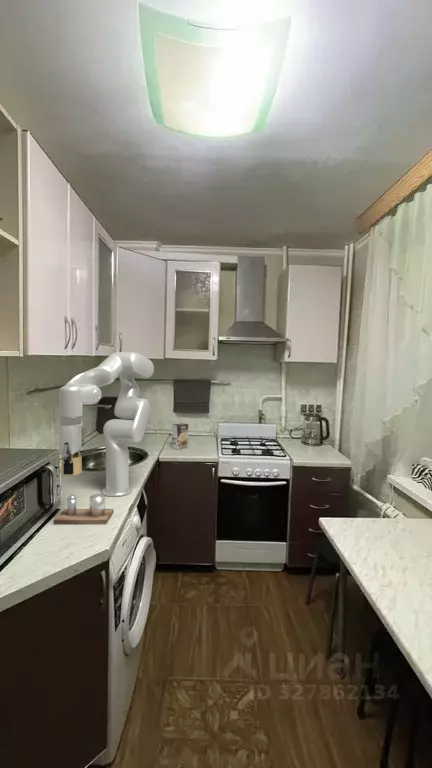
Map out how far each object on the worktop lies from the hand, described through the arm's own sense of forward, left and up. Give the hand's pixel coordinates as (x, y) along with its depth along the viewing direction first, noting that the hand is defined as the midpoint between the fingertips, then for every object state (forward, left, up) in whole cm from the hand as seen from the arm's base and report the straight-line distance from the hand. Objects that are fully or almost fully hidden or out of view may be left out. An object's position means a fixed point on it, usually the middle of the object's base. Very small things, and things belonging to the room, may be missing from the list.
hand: (72, 470), depth 131 cm
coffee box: (-116, +30, -17) cm, 121 cm away
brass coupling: (0, 0, -1) cm, 1 cm away
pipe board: (0, +4, -17) cm, 18 cm away
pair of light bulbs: (0, +5, -16) cm, 17 cm away
